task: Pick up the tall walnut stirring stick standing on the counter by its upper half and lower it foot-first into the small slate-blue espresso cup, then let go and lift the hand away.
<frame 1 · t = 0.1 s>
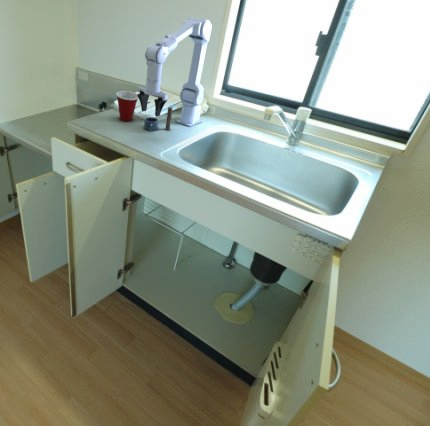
hand: (150, 113, 137), 10 cm above the counter, tool pointing down, fingers open, 7 cm apart
plastic cup: (126, 119, 158), on the counter
stirrer: (167, 129, 150), on the counter
coffee cup: (150, 128, 151), on the counter
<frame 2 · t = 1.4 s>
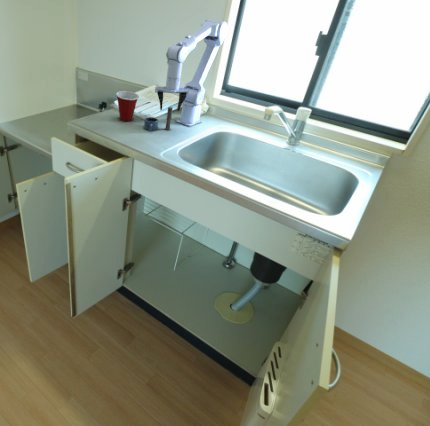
hand: (169, 109, 145), 9 cm above the counter, tool pointing down, fingers open, 7 cm apart
nothing on the counter moved.
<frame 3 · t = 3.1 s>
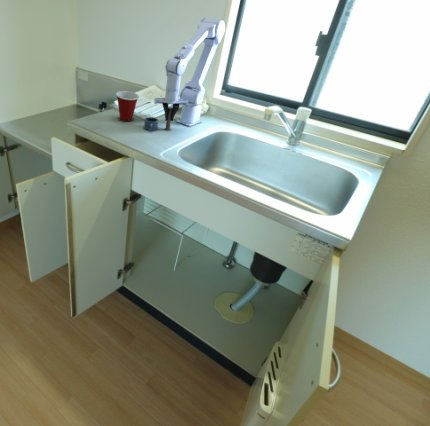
hand: (168, 120, 147), 4 cm above the counter, tool pointing down, fingers closed on stirrer, 2 cm apart
stirrer: (167, 129, 150), on the counter, touching gripper
everything else where it was.
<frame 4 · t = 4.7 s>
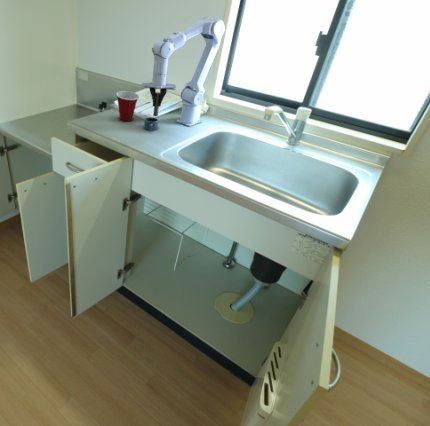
hand: (156, 105, 144), 10 cm above the counter, tool pointing down, fingers closed on stirrer
stirrer: (155, 115, 147), point 6 cm above the counter, touching gripper
everything else where it was.
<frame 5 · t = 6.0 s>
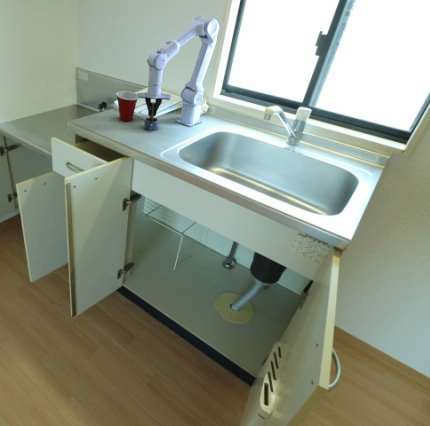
hand: (151, 115, 147), 6 cm above the counter, tool pointing down, fingers closed on stirrer, 2 cm apart
stirrer: (151, 124, 150), point 2 cm above the counter, touching gripper
everything else where it was.
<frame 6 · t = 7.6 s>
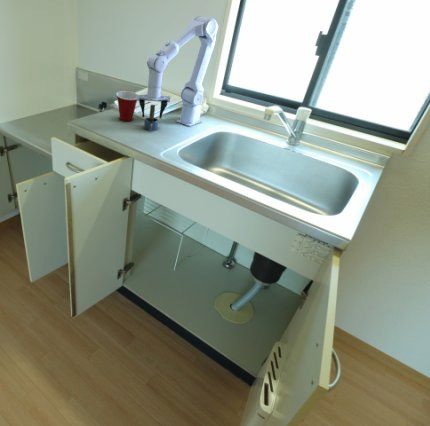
hand: (151, 117, 148), 5 cm above the counter, tool pointing down, fingers open, 7 cm apart
stirrer: (150, 127, 150), resting on coffee cup
coffee cup: (150, 128, 151), on the counter, touching stirrer
everything else where it was.
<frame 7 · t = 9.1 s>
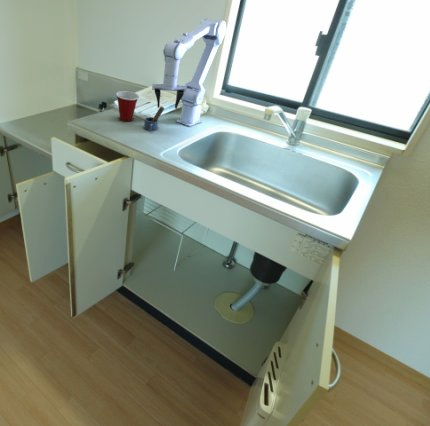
hand: (167, 107, 143), 10 cm above the counter, tool pointing down, fingers open, 7 cm apart
stirrer: (150, 126, 150), point 1 cm above the counter, tilted 26°
coffee cup: (150, 128, 151), on the counter
everything else where it was.
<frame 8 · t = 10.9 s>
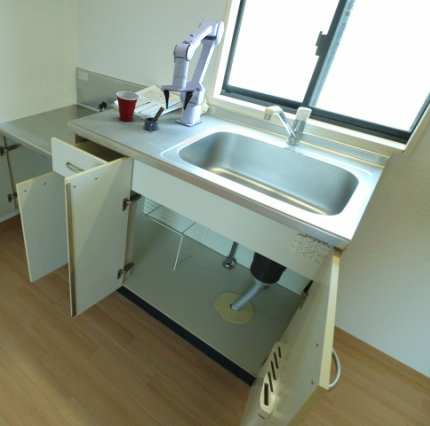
hand: (175, 108, 142), 10 cm above the counter, tool pointing down, fingers open, 7 cm apart
stirrer: (150, 126, 150), point 1 cm above the counter, tilted 27°, touching coffee cup
coffee cup: (150, 128, 151), on the counter, touching stirrer
everything else where it was.
at the end: stirrer 0.1 cm off-centre in the coffee cup, point 1.0 cm above the coffee cup's base; stirrer tilted 27°; the gripper is holding nothing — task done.
